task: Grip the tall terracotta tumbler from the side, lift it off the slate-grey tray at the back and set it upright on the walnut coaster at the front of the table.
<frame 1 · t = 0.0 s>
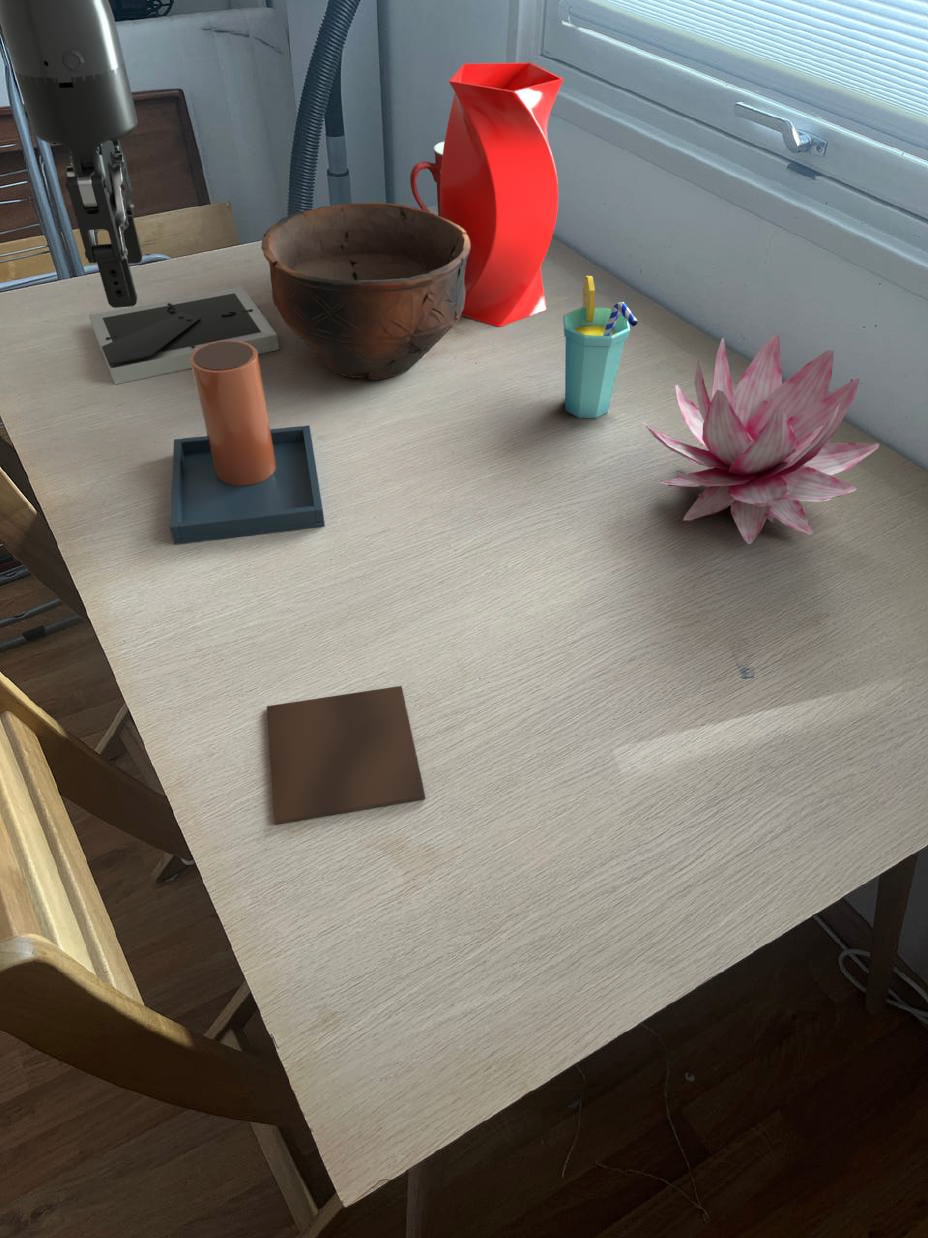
hand: (127, 282, 74), 23 cm above the table, tool pointing down, fingers open, 8 cm apart
mug: (451, 241, 140), on the table
coaster: (342, 752, 68), on the table
picture frame: (185, 341, 115), on the table
cup: (589, 411, 104), on the table
tray: (248, 489, 92), on the table
vase: (490, 304, 124), on the table
tumbler: (246, 468, 94), point 1 cm above the table, touching tray
decorative flower: (739, 502, 91), on the table
bowl: (375, 357, 113), on the table
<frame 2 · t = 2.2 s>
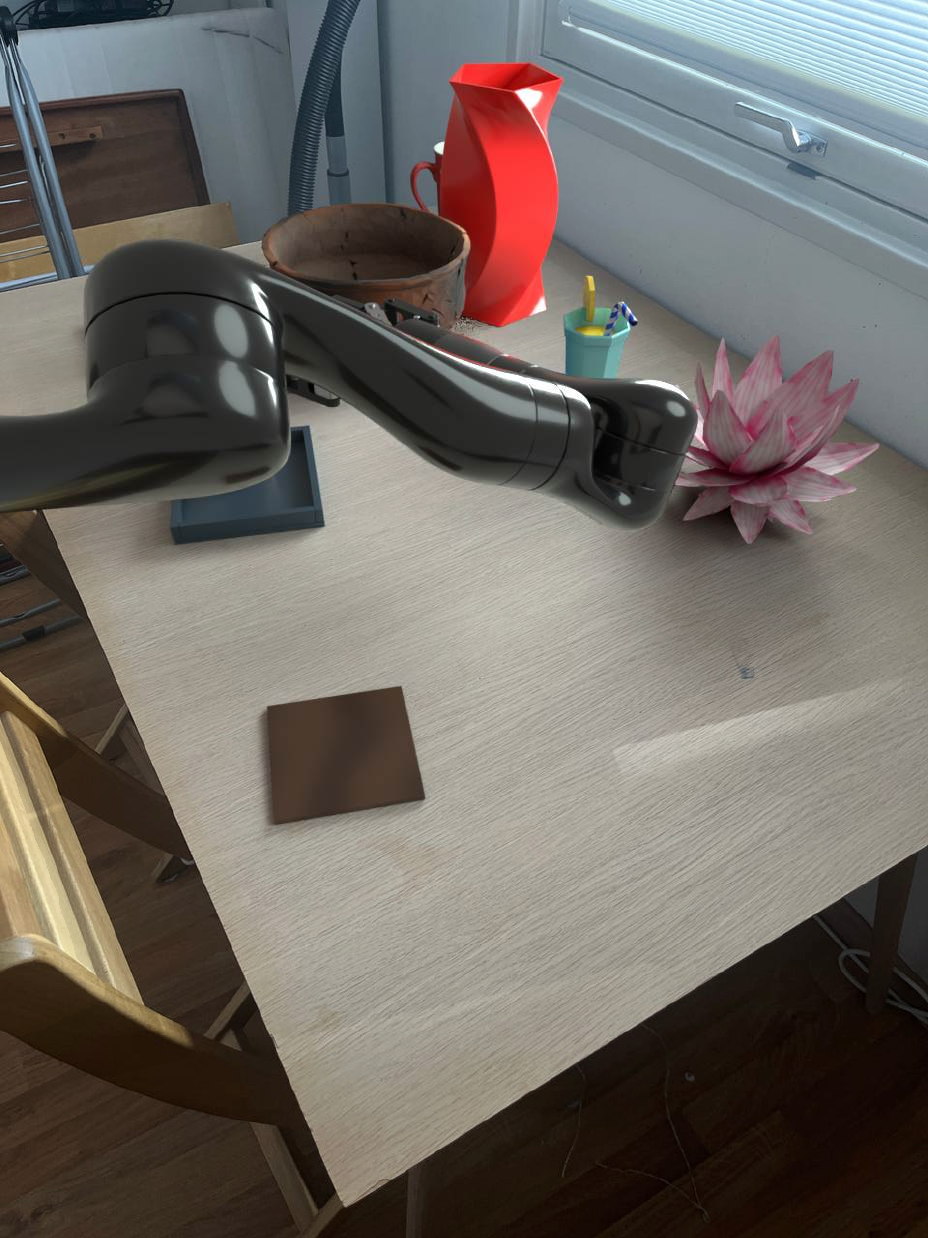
hand: (297, 324, 75), 20 cm above the table, tool horizontal, fingers open, 8 cm apart
nothing on the table moved.
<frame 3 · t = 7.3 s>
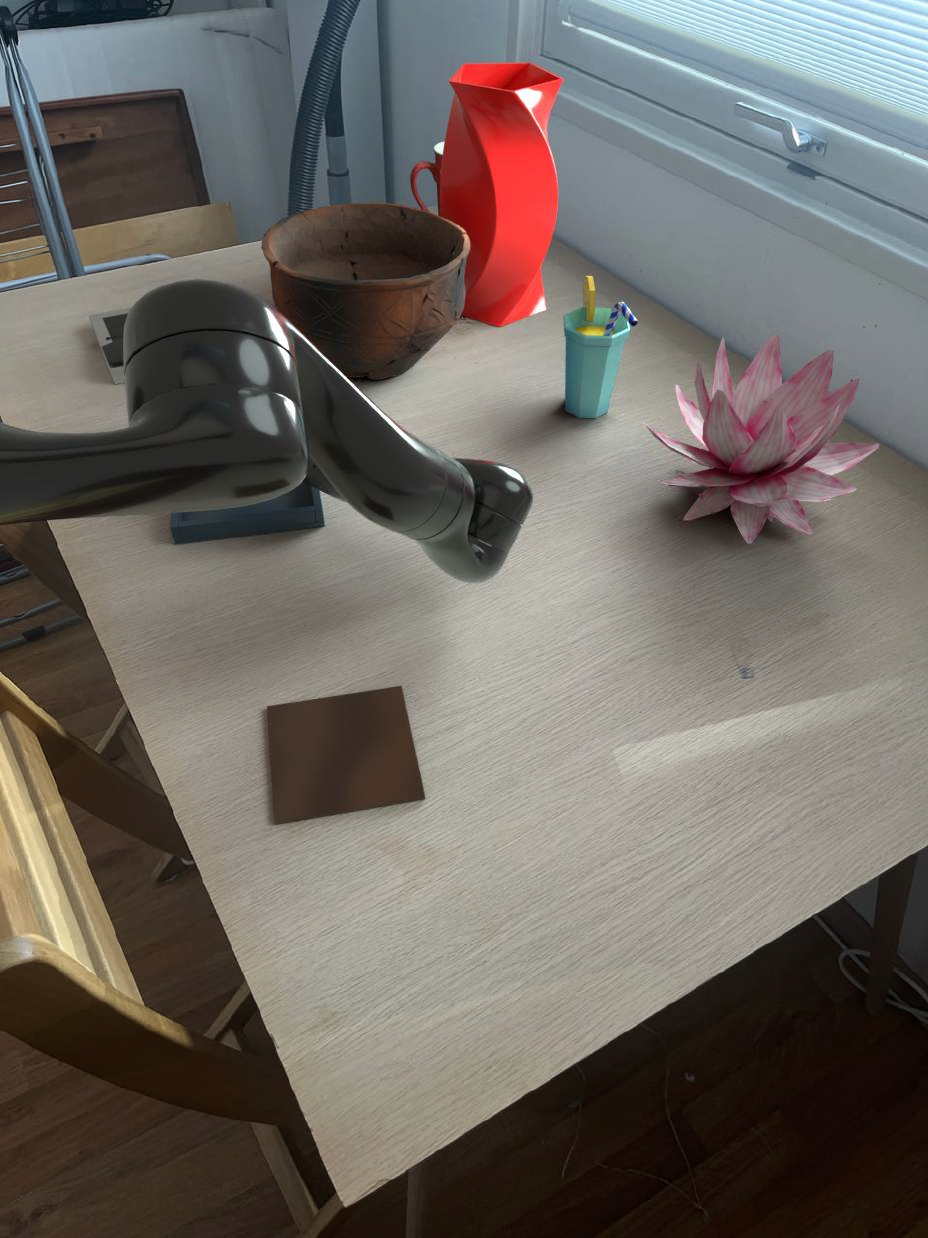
hand: (217, 397, 89), 8 cm above the table, tool horizontal, fingers closed on tumbler, 6 cm apart
tumbler: (246, 468, 94), point 1 cm above the table, touching gripper, tray
everything else where it was.
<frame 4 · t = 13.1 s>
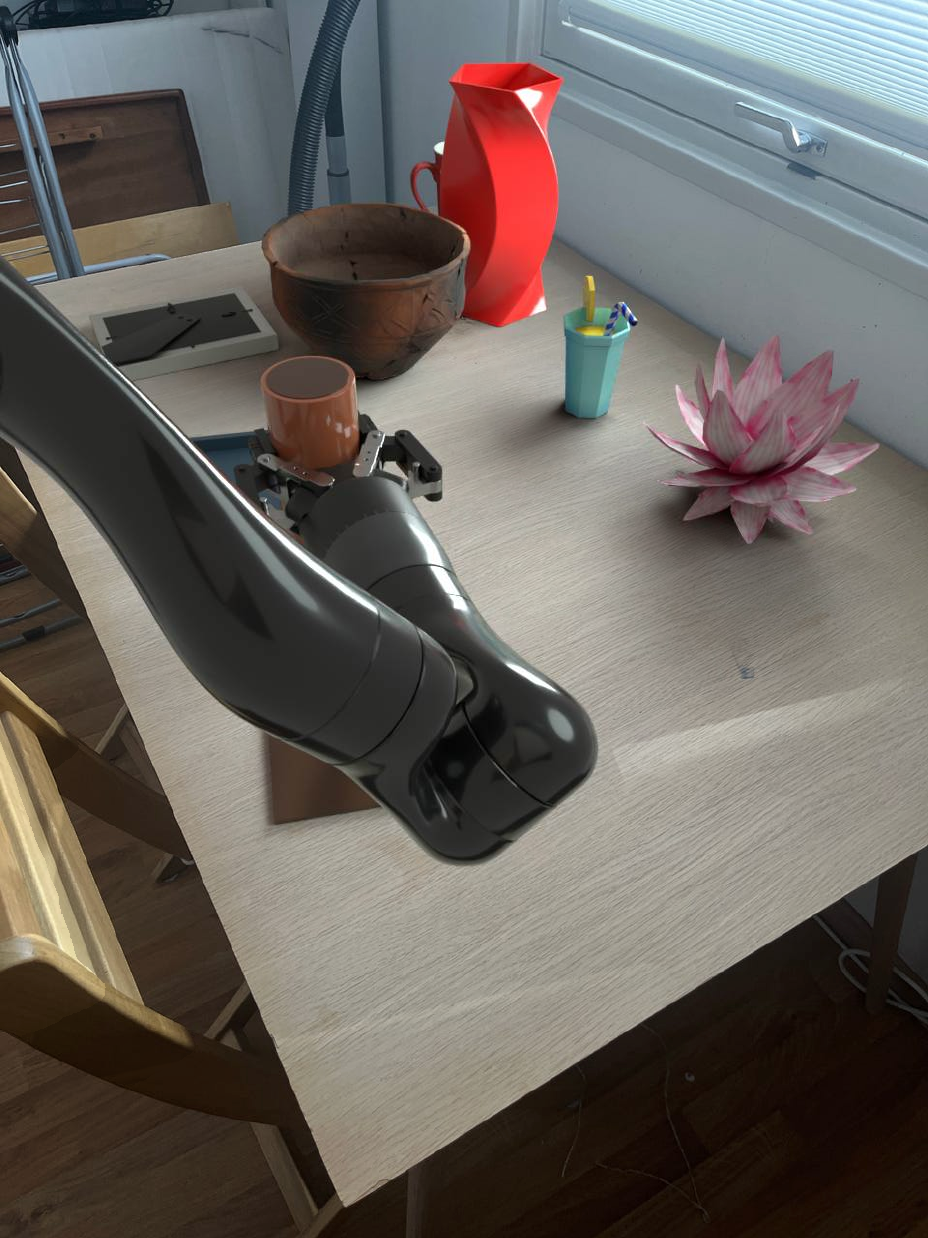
hand: (306, 429, 65), 19 cm above the table, tool horizontal, fingers closed on tumbler, 6 cm apart
tumbler: (325, 528, 69), point 12 cm above the table, touching gripper
everything else where it was.
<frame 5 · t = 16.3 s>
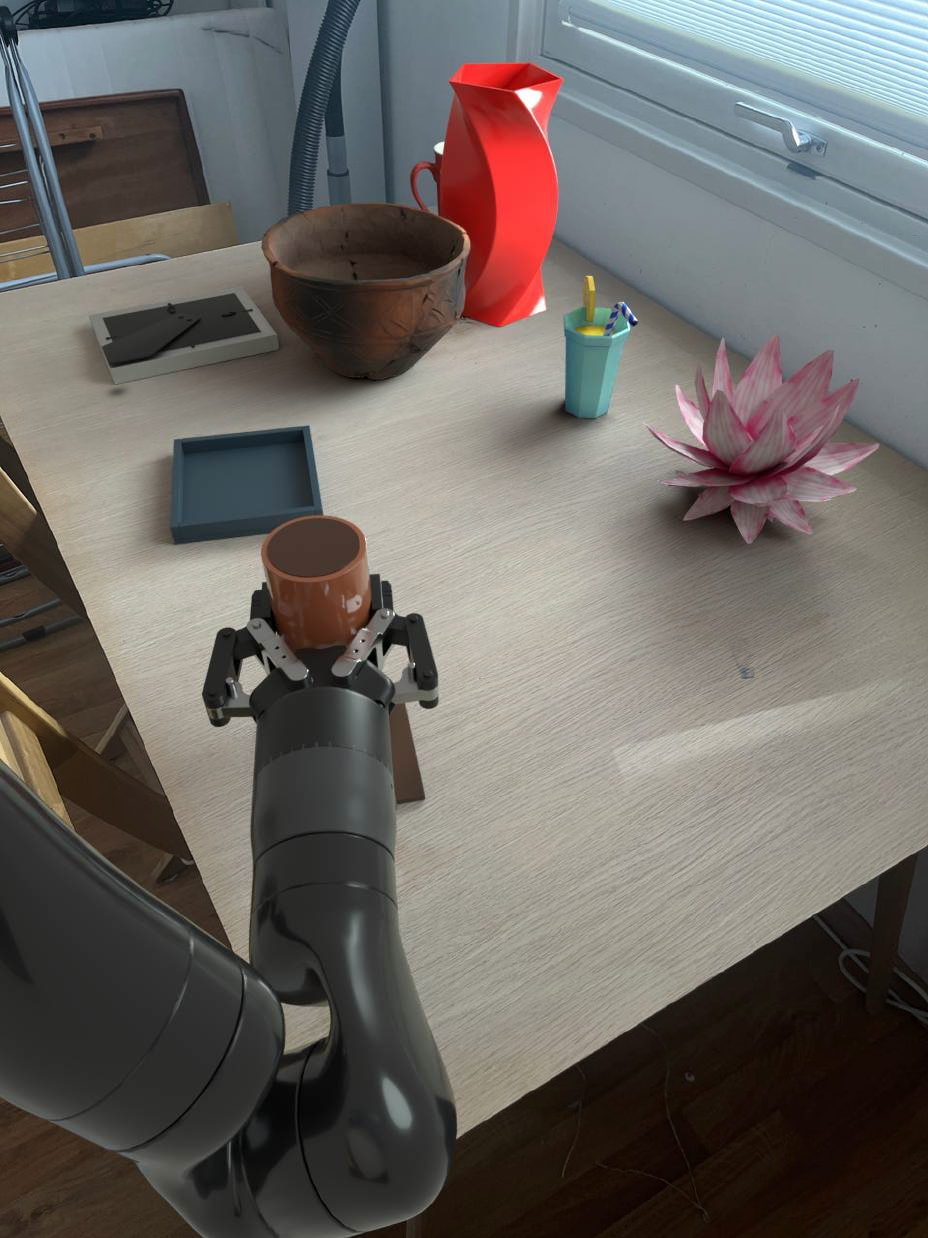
hand: (322, 587, 59), 15 cm above the table, tool horizontal, fingers closed on tumbler, 6 cm apart
tumbler: (334, 688, 62), point 8 cm above the table, touching gripper
everything else where it was.
when the fingers open (8 cm above the table, at t = 18.9 s): tumbler stays where it is, resting on coaster.
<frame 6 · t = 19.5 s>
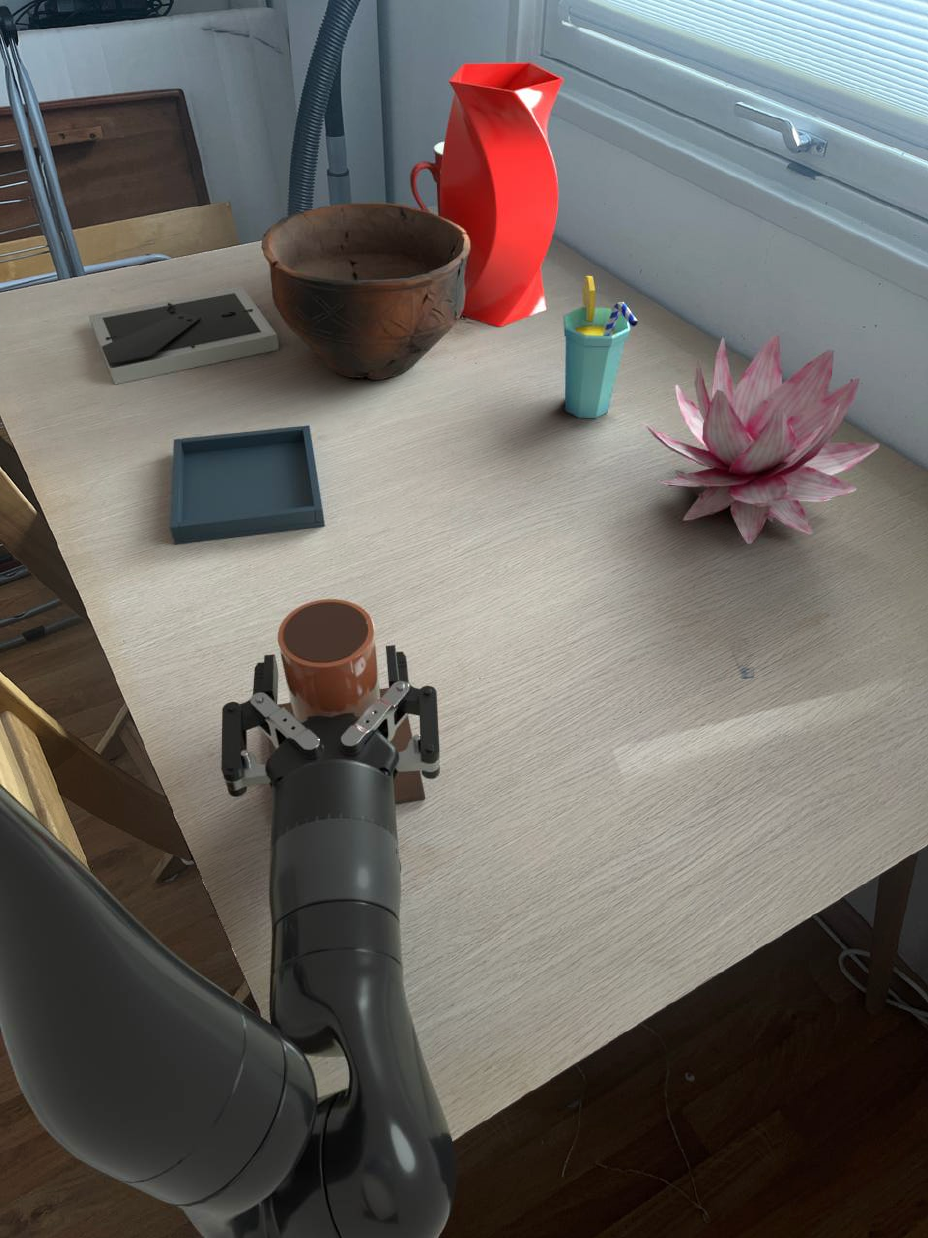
hand: (331, 657, 63), 9 cm above the table, tool horizontal, fingers open, 8 cm apart
tumbler: (343, 750, 67), resting on coaster
everything else where it was.
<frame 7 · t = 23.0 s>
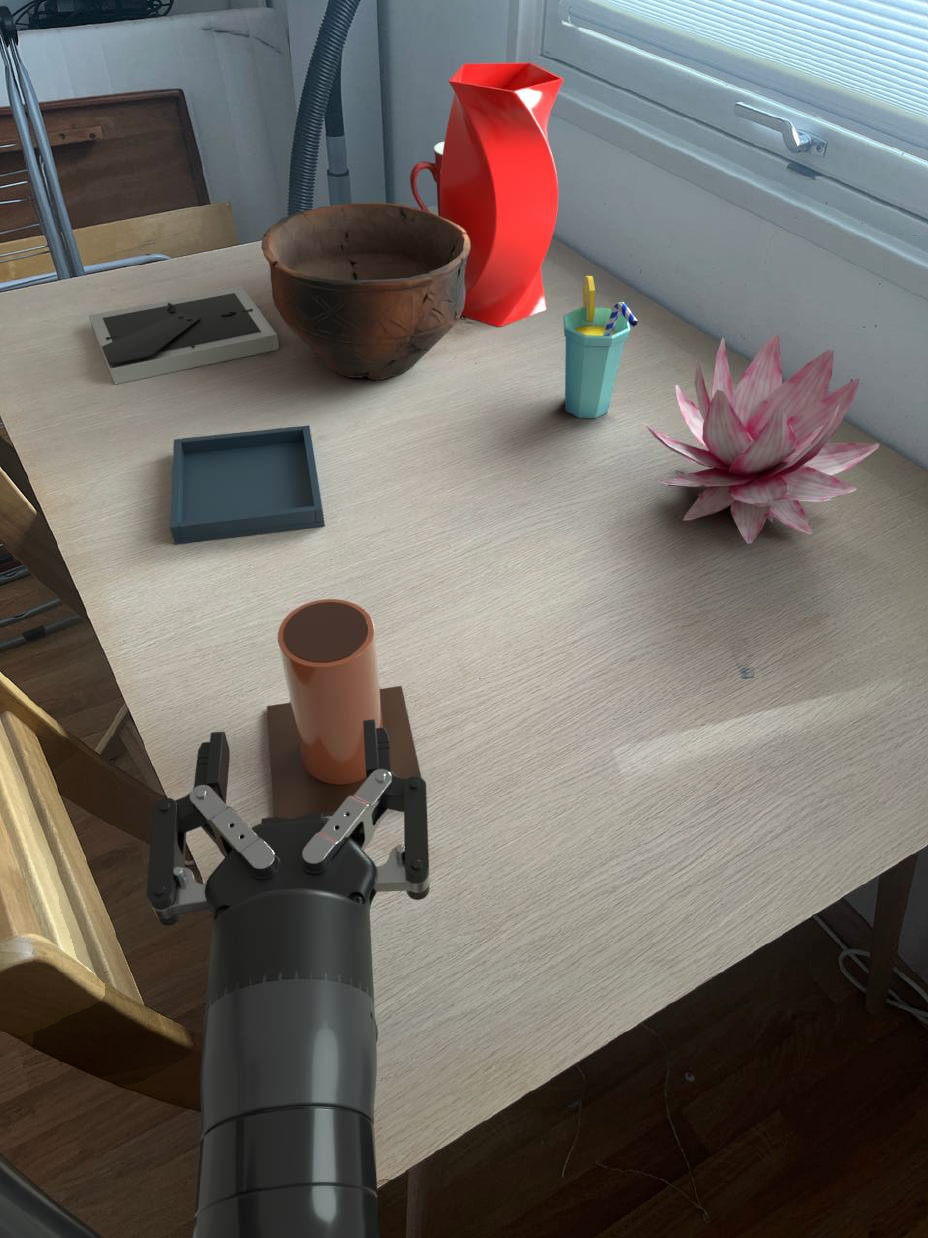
hand: (295, 734, 51), 15 cm above the table, tool horizontal, fingers open, 8 cm apart
nothing on the table moved.
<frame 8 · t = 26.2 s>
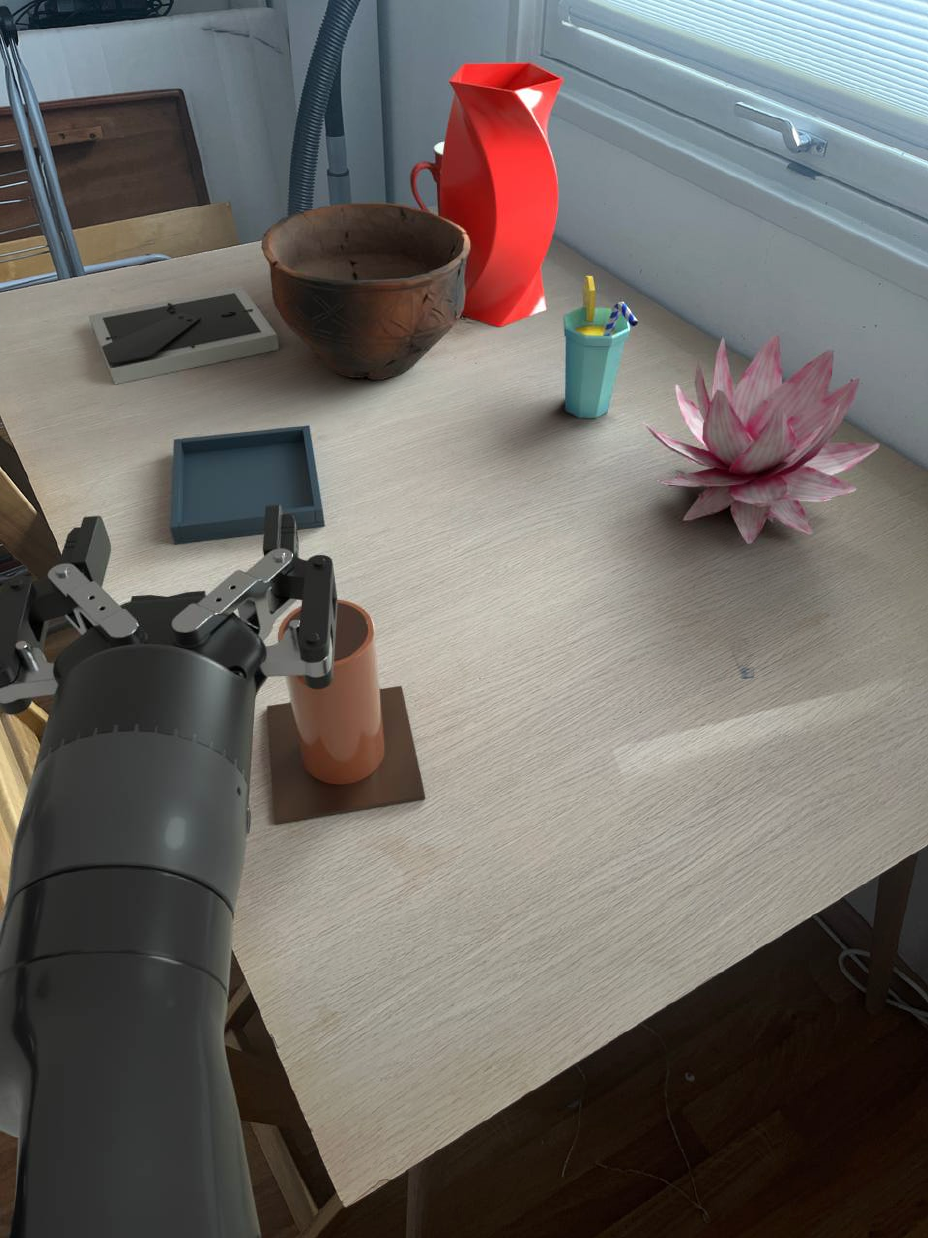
hand: (187, 524, 43), 28 cm above the table, tool horizontal, fingers open, 8 cm apart
nothing on the table moved.
at the end: tumbler inside the target area on the coaster (0.1 cm from its centre), point 0.4 cm above the coaster's base; tumbler tilted 0°; tumbler touching coaster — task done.
